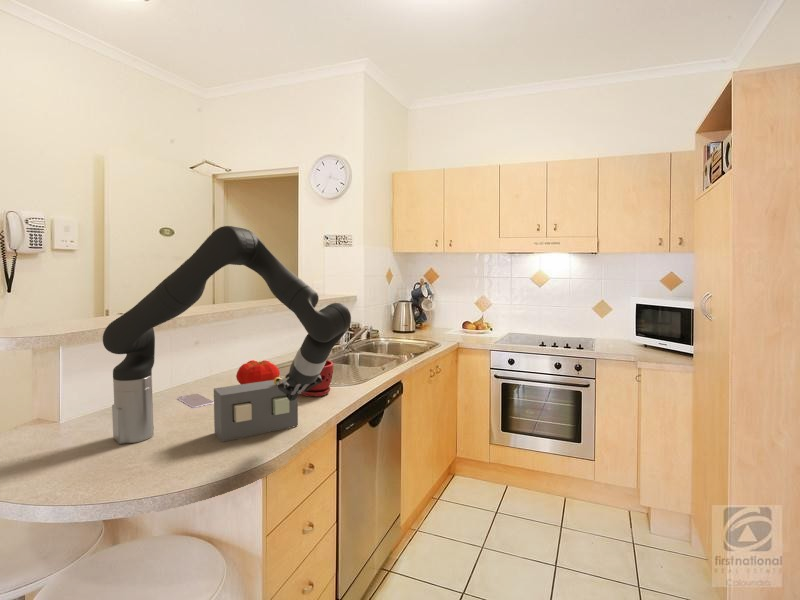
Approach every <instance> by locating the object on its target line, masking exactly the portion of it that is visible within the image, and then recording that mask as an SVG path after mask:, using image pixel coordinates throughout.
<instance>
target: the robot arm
mask: <svg viewBox="0 0 800 600" xmlns="http://www.w3.org/2000/svg"><path fill="white" fill-rule="evenodd" d="M228 265H229V266H230V265H233V266H245V267H246V268H248V269H250V270H252V271H254V272H255V273H257V274H258V275H259V276H260V277H261V278H262V279H263V280H264V282H265V283H266V285H267V287H268V288H269V290H270V292H271V293H272V295H274V297H275V298H276V299H277V300H278V301H279V302H280V303H281V304H283V305H284V306H285V307H286V308H288V309H289V310H290V311H291V312H292V313H294V315H295V316H296V318H297V319H298V320H299V322H300V323H301V324H302V326H303V328H304V330H305V331H306V333H307V334H306V336H305V337H304V339H303V341H302V344H301V345H300V347H299V348H298V350H297V352H296V353H295V356H294V358H293V360H292V363H291V364H290V367H289V371H288V373H287V374H286V375H285V377H284V379H283V378H281V377H280V378H281V379H282V380H281V379H280V378H279V379H276V383H277V386H278V389H279V390H281V391H282V392H283V393H284V394H286V395H287V398H288V399H289V401H292V400H295V399H296V398H297V397H298V396H299V395H301V392H302V391H304V392H306V391H308V390H310V389H311V388H313V387H314V386H316V385H318V384H319V383H321V382H322V378H321V375H320V372H321V371H322V369H323V367H324V365H325V363H326V360H328V358H329V355H330V354H331V353H332V350H333V348H335V346H336V345H337V344H338V343H339V341H340V340H341V339H342V338H343V336H345V334H346V332H347V331H348V330H349V328H350V326H351V322H352V316H351V312H350V310H349V308H348V307H347V306H346V305H345V304H343V303H341V302H333V303H330V304H328V305H327V306H325V307H323V308H322V309H319V310H316V309H315V307H317V305H318V303H319V297H320V296H319V295H318V293H317V292H316V290H314V289H313V288H312V287H311V286H309V285H308V284H307V283H306V282H305V281H303V280H302V279H300V277H299V276H297V275H296V274H295V273H294V272H292V271H291V270H290V269H288V268H287V267H286V266H285V265H284V264H283V263H282V262H281V261H280V260H279V259H278V258H277V257H276V256H275V255H274V254H273V253H272V252H271V250H269V249H268V247H267V246H266V245H265V244H264V242H262V240H261V239H260V238H259V237H258V236H257V235H256V234H255V233H254V232H253V231H251V230H250V229H247V228H241V227H239V226H233V225H223V226H219V227H218V228H216V229H215V230H214V231H213V232H212V233H210V234H209V236H207V238H206V239H205V240H204V241H203V242H202V243H201V245H199V247H198V249H196V250H195V251H194V253H193V254H191V256H190V257H189V258H188V259H186V260H185V261H184V262H183V263H182V264H180V266H179V267H178V268H177V269H175V270H174V271H173V272H172V273H170V274H169V275H168V276H167V277H165V278H164V279H162V281H161V282H160V283H158V285H157V286H156V287H155V288H153V290H151V291H149V293H148V294H146V296H144V297H143V298H142V299H141V300H140V301H139V302H138V303H137V304H135V305H134V306H133V307H132V308H131V309H129V310H128V311H126V312H125V313H123V314H122V315H120V316H119V317H117V318H116V319H114V320H112V321H111V322H110V323H109V324H108V325H107V326H106V327H105V328H104V332H103V334H102V344H103V346H104V348H105V349H106V350H107V351H108V352H109V353H111V354H115V355H125V357H124V359H123V360H122V361H121V362H119V363H118V364H117V365H115V366H114V367H113V369H112V382H113V383H112V385H113V404H112V405H111V413H112V416H111V417H112V437H113V440H114V441H115V442H116V443H117V444H118V445H123V444H134V443H138V442H139V443H140V442H143V441H145V440H148V439H150V438H152V437H153V436H154V434H155V432H154V430H155V429H154V428H155V427H154V406H153V405H154V403H153V402H154V401H153V398H154V397H153V375H152V374H153V373H152V370H153V368H154V365H155V351H156V350H155V349H156V348H155V347H156V341H155V340H156V336H155V330H154V328H155V327H157V326H160V325H162V324H164V323H166V322H169V321H170V320H173V319H174V318H177V317H178V316H180V315H182V314H183V313H184V312H186V311H187V310H188V309H189V308H190V307H192V306H193V305H195V304H196V302H198V301H199V300H200V299H201V298H202V296H203V294H204V291H205V289H206V284H207V282H208V280H209V279H210V277H212V276H213V275H214V274H215V273H217V272H218V271H220V269H223V268H224V267H226V266H228ZM286 383H288V384H289V386H288V385H287V384H286ZM309 384H310V385H309ZM308 385H309V386H308ZM307 386H308V387H307ZM298 398H299V397H298Z"/></svg>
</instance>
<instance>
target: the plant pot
mask: <svg viewBox="0 0 800 600" xmlns="http://www.w3.org/2000/svg"><path fill="white" fill-rule="evenodd" d="M320 375H321V378H322V382H321V383H319V384H318V385H316V386H314V387H313V388H311V389H310V390H308V391H306V392H304V391H302V392H301V393H300V395H303V396H306V397H311V396H315V397H321V396H325V395H328V394H329V392H331V387H330V385H331V383H332V380H333V375H334V362H333V361H331V360H328V359H327V360H326V363H325V365H324V367H323V369H322V371H321V372H320ZM309 385H310V384H309ZM309 385H308V386H309ZM308 386H307V387H308Z"/></svg>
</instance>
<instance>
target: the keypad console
mask: <svg viewBox="0 0 800 600" xmlns="http://www.w3.org/2000/svg"><path fill="white" fill-rule="evenodd" d="M279 378H280V379H281V380H282V379H284V378H285V377H284V378H281V377H280V376H279V377H276V378H275V379H274V380H269V381H262V382H255V383H248V384H235V385H229V386H221V387H215V388H213V402H214V404H213V417H214V418H213V420H214V425H213V426H214V434H215V435H216V436H217V438H218V439H219V440H220V441H221V443H223V442H228V441H232V440H237V439H243V438H247V437H253V436H257V435H262V434H267V433H271V431H272V432H277V431H281V430H285V429H284V428H286V429H290V428H289V427H291V428H294V427H293V426H296V427H298V426H299V412H298V411H299V410H298V409H299V407H298V405H299V403H298V401H299V399H298V398H299V397H297V398H296V399H295V400H292V401H289V413H284V414H279V415H275V414H273V413H272V398H274V397H280V396H287V395H286V394H284V393H283V392H282V391H281V390H279V389H278V386H277V383H276V379H279ZM286 384H287V385H288V386H289V384H288V383H286ZM244 402H249V403H250V404H251V405H252V420H247V421H242V422H235V421H234V420H233V407H232V404H238V403H244ZM297 425H298V426H297ZM276 430H277V431H276ZM252 435H253V436H252Z"/></svg>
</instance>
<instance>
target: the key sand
mask: <svg viewBox="0 0 800 600" xmlns="http://www.w3.org/2000/svg"><path fill="white" fill-rule="evenodd" d="M232 407H233V420H234V421H235V422H242V421H247V420H252V405H251V404H250V403H249V402H244V403H238V404H232Z"/></svg>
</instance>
